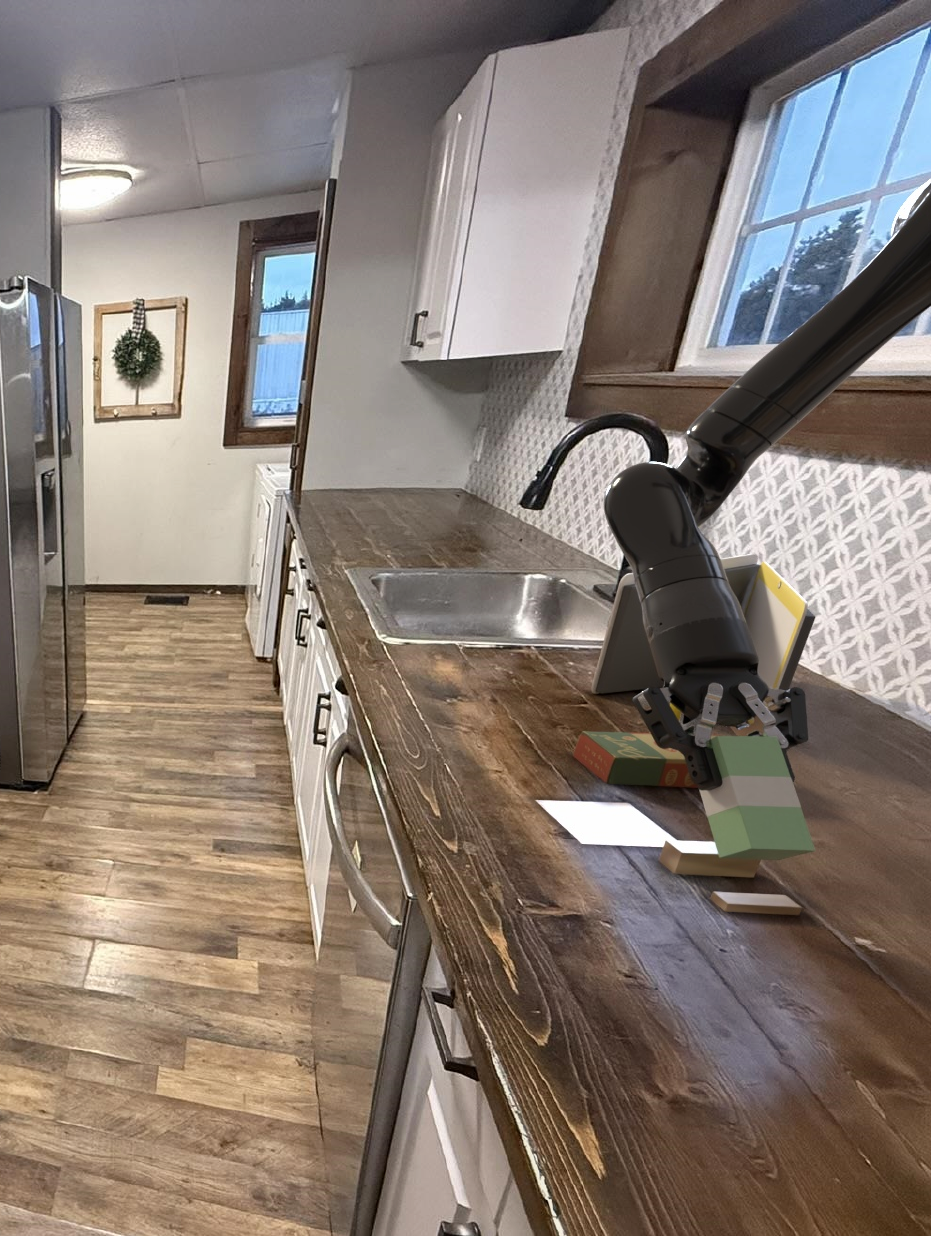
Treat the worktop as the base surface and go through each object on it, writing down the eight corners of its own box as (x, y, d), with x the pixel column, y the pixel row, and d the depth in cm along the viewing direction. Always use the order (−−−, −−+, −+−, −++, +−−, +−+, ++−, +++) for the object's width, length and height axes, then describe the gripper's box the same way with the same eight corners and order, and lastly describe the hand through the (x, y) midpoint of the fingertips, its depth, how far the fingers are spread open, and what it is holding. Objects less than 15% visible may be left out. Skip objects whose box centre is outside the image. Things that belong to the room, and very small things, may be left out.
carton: (758, 793, 92) (771, 761, 90) (604, 786, 95) (614, 755, 94) (712, 763, 99) (723, 732, 98) (571, 757, 103) (579, 728, 101)
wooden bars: (657, 863, 80) (665, 839, 79) (734, 866, 79) (743, 842, 78) (717, 914, 72) (727, 888, 71) (804, 918, 71) (815, 892, 70)
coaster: (627, 805, 91) (628, 802, 91) (686, 851, 82) (687, 848, 81) (534, 802, 92) (534, 799, 92) (581, 847, 83) (582, 844, 83)
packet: (664, 817, 80) (696, 724, 76) (720, 818, 80) (754, 725, 76) (741, 874, 71) (781, 772, 67) (804, 876, 70) (849, 773, 66)
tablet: (795, 747, 103) (852, 603, 95) (591, 718, 114) (628, 588, 107) (742, 671, 129) (784, 554, 122) (581, 653, 141) (610, 546, 133)
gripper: (641, 615, 78) (687, 775, 71) (806, 613, 75) (870, 778, 69) (597, 649, 84) (635, 798, 78) (747, 649, 82) (800, 802, 76)
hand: (745, 788), depth 74 cm, fingers closed on packet, 5 cm apart
